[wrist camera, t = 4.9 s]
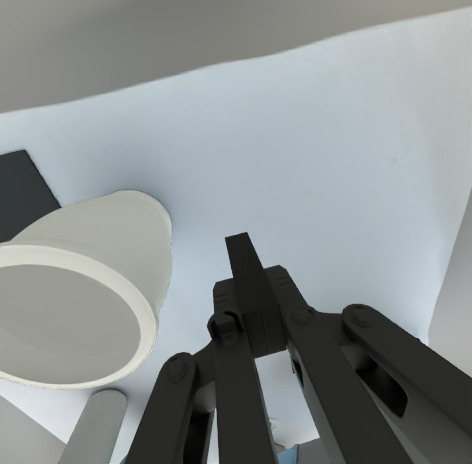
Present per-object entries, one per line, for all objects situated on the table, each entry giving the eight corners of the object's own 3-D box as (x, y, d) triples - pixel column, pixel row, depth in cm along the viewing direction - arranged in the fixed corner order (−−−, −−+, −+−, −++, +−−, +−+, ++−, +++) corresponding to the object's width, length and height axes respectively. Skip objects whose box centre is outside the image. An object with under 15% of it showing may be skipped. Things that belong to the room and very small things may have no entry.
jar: (67, 190, 22) (-141, 276, 9) (165, 171, 23) (111, 224, 9) (110, 271, 27) (17, 409, 13) (191, 253, 27) (179, 369, 14)
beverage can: (126, 410, 39) (94, 516, 28) (88, 408, 37) (37, 519, 26) (131, 388, 36) (98, 494, 25) (90, 385, 35) (36, 495, 24)
